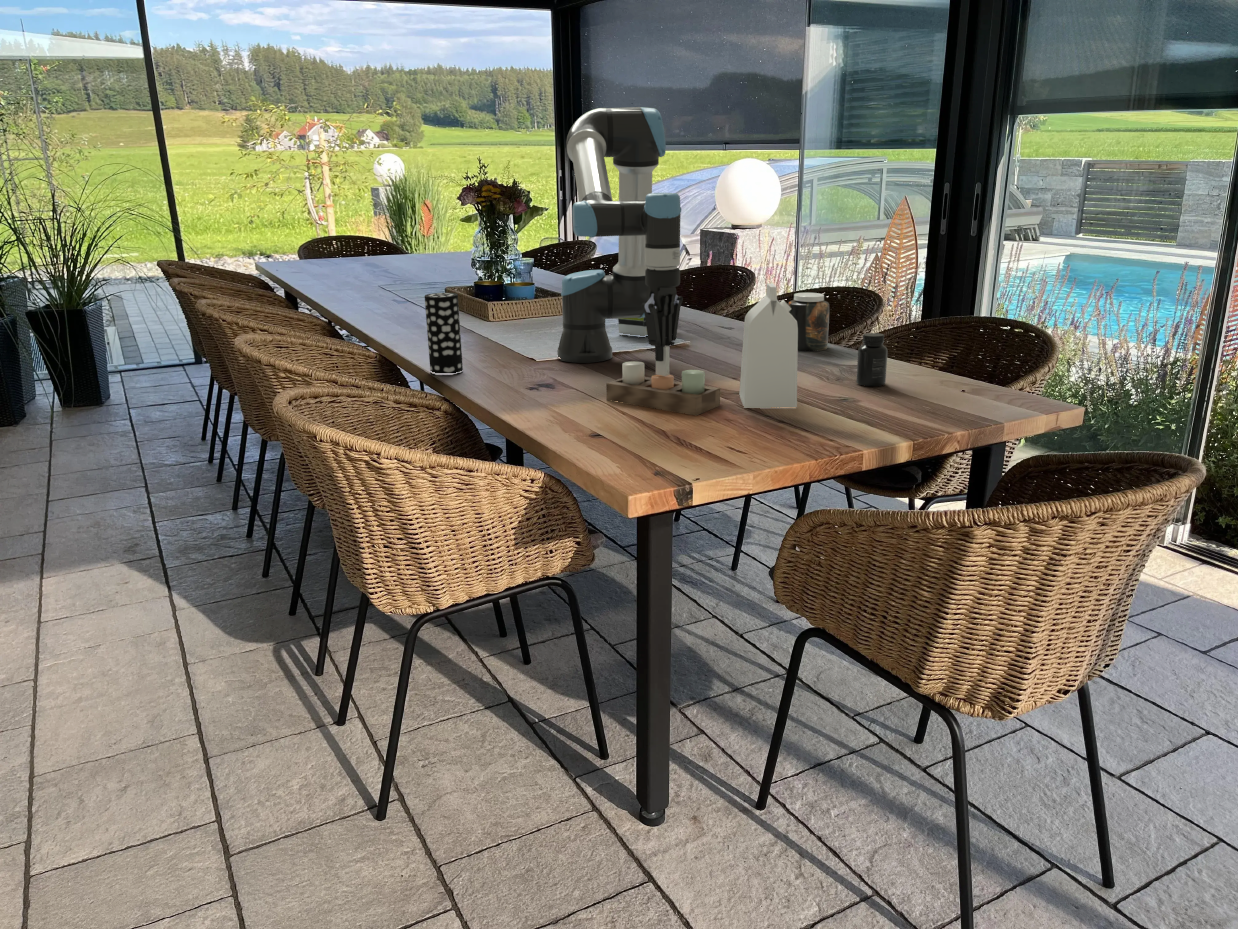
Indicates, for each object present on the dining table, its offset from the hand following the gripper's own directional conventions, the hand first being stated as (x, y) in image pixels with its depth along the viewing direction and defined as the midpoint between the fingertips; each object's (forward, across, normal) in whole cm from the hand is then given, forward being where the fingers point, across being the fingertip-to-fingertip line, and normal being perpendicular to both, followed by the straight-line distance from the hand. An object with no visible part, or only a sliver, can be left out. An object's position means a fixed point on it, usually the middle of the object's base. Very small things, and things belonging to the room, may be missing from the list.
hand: (662, 374), depth 211 cm
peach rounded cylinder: (+6, 0, 0) cm, 6 cm away
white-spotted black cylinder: (+7, -5, +64) cm, 65 cm away
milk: (+7, +14, -19) cm, 25 cm away
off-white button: (+4, 0, +8) cm, 9 cm away
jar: (+7, +74, 0) cm, 74 cm away
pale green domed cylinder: (+4, 0, -8) cm, 9 cm away
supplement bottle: (+7, +42, -32) cm, 53 cm away
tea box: (+7, +68, +52) cm, 86 cm away
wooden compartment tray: (+7, 0, 0) cm, 7 cm away
